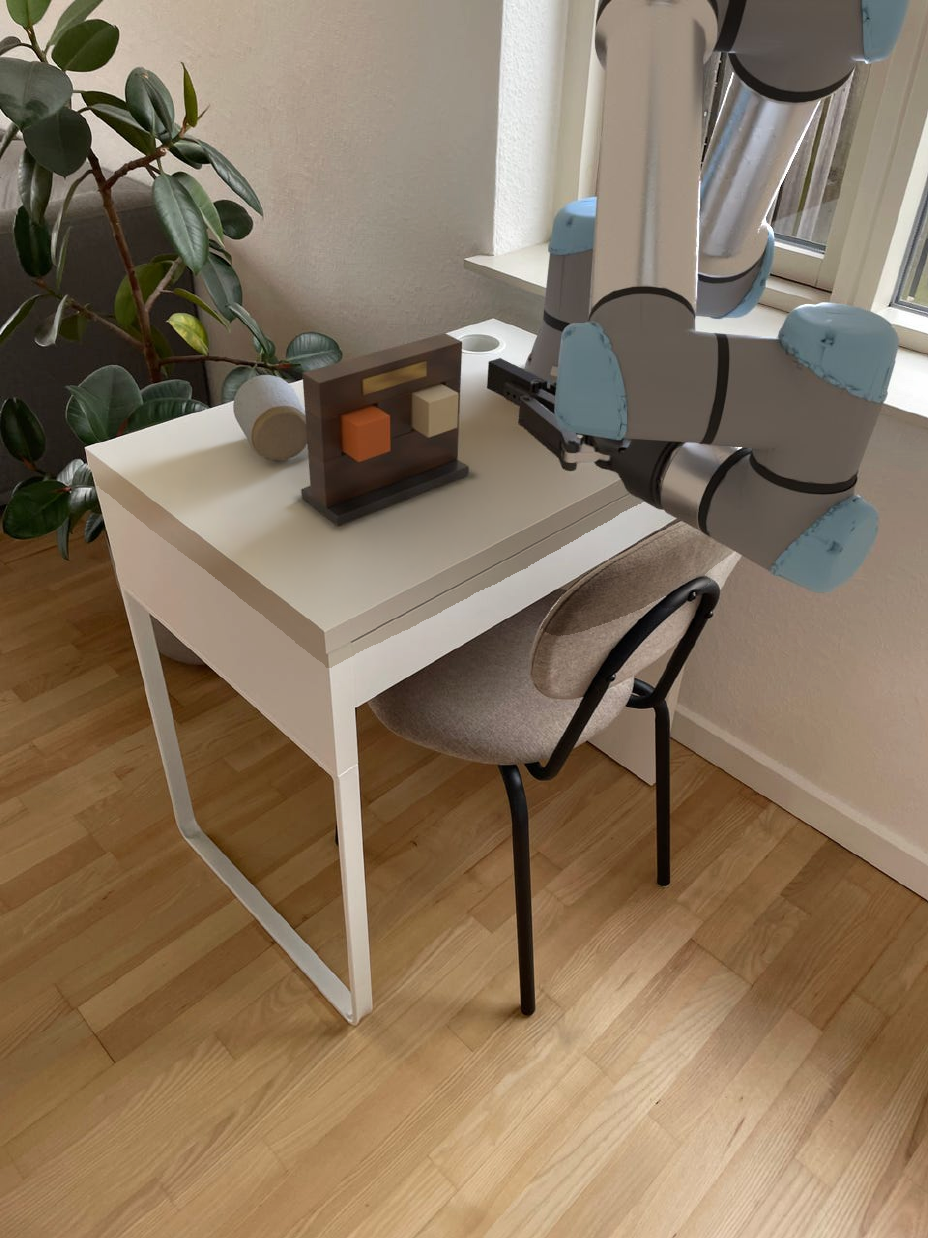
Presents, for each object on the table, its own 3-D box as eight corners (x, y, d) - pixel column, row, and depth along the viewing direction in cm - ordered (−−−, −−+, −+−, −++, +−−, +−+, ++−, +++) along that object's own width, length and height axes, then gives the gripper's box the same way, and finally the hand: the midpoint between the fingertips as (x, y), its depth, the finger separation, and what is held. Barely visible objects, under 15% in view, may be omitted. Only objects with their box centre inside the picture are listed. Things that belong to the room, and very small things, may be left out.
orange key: (367, 436, 98) (366, 401, 96) (390, 451, 96) (390, 415, 94) (336, 446, 96) (334, 411, 94) (358, 462, 94) (357, 426, 91)
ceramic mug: (254, 470, 106) (248, 407, 101) (235, 438, 111) (229, 377, 107) (342, 455, 110) (341, 394, 105) (320, 425, 115) (318, 365, 110)
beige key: (434, 414, 103) (435, 379, 101) (457, 427, 101) (458, 393, 98) (405, 423, 101) (405, 389, 98) (428, 437, 99) (429, 402, 96)
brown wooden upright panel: (430, 451, 111) (433, 326, 101) (468, 475, 107) (474, 347, 97) (301, 498, 101) (290, 365, 92) (337, 526, 97) (330, 390, 88)
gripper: (625, 535, 75) (440, 426, 88) (725, 486, 82) (538, 392, 95) (640, 451, 70) (442, 350, 84) (744, 407, 77) (545, 320, 91)
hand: (493, 373), depth 90 cm, fingers closed
